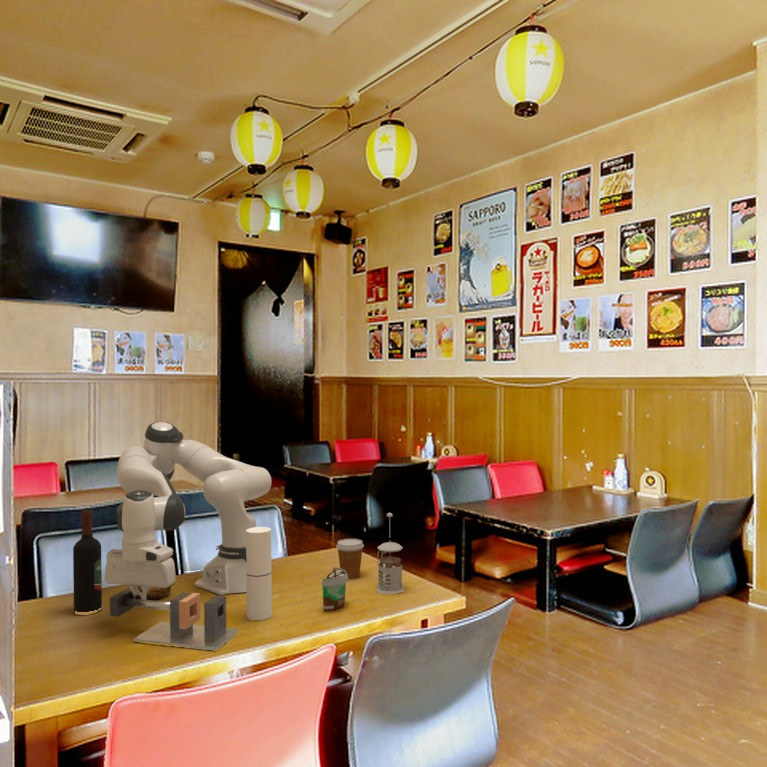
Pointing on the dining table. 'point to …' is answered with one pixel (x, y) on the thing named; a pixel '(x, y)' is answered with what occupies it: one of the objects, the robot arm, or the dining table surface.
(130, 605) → the shaft
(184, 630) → the shaft frame
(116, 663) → the dining table surface
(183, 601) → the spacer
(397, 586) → the french press
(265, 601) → the cylindrical container
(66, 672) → the dining table surface
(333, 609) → the food container
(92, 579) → the wine bottle
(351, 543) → the disposable coffee cup
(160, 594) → the bread roll
